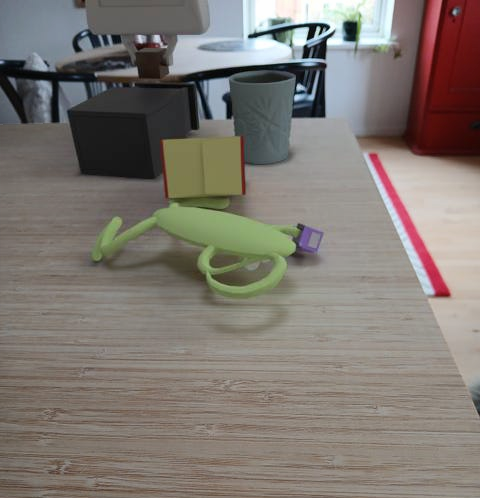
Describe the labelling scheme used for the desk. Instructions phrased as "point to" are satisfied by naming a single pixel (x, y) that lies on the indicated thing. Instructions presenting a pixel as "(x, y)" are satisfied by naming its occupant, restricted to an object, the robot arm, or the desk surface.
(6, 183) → the desk surface
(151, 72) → the block
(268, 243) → the figurine
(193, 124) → the basket
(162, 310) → the desk surface
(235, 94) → the grey green embossed cup
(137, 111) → the dark grey box
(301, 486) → the desk surface
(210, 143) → the baking soda box
